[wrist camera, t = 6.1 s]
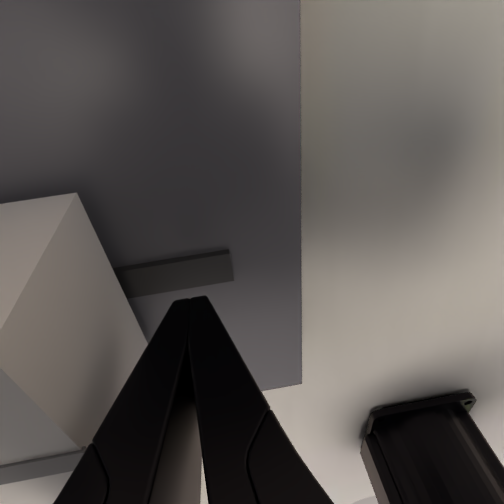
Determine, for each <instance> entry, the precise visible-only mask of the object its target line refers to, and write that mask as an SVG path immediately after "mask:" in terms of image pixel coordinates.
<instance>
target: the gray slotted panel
mask: <svg viewBox="0 0 504 504" xmlns="http://www.w3.org/2000/svg"><path fill="white" fill-rule="evenodd" d="M76 192H77V194H78V196H79V198H80V201H81V203H82V205H83V207H84V209H85V211H86V213H87V216H88V218H89V220H90V222H91V224H92V226H93V228H94V230H95V233H96V235H97V237H98V239H99V241H100V243H101V245H102V247H103V250H104V252H105V254H106V256H107V258H108V260H109V262H110V264H111V267H112V269H113V271H114V273H115V275H116V277H117V279H118V281H119V284H120V286H121V288H122V290H123V292H124V294H125V296H126V298H127V301H128V303H129V305H130V307H131V309H132V311H133V313H134V315H135V318H136V320H137V322H138V324H139V326H140V328H141V330H142V333H143V335H144V337H145V339H146V341H147V343H149V342H150V340H151V338H152V336H153V335H154V333H155V331H156V330H157V328H158V326H159V324H160V323H161V321H162V319H163V318H164V316H165V314H166V312H167V311H168V309H169V307H170V306H171V304H172V302H173V301H175V300H179V299H185V298H190V299H191V298H192V297H197V296H203V295H206V296H207V297H208V298H209V300H210V302H211V303H212V305H213V307H214V309H215V310H216V312H217V314H218V316H219V318H220V319H221V321H222V323H223V325H224V326H225V328H226V330H227V332H228V333H229V335H230V337H231V339H232V341H233V342H234V344H235V346H236V348H237V349H238V351H239V353H240V355H241V356H242V358H243V360H244V362H245V364H246V365H247V367H248V369H249V371H250V372H251V374H252V376H253V378H254V379H255V381H256V383H257V385H258V387H259V388H260V390H261V391H265V390H271V389H276V388H281V387H287V386H292V385H297V384H302V295H301V74H300V0H0V204H3V203H10V202H17V201H23V200H30V199H37V198H43V197H50V196H56V195H63V194H70V193H76Z"/></svg>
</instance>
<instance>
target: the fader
mask: <svg viewBox="0 0 504 504" xmlns="http://www.w3.org/2000/svg"><path fill="white" fill-rule="evenodd" d="M147 345H148V343H147V341H146V339H145V337H144V335H143V333H142V330H141V328H140V326H139V324H138V322H137V320H136V318H135V315H134V313H133V311H132V309H131V307H130V305H129V303H128V301H127V298H126V296H125V294H124V292H123V290H122V288H121V286H120V284H119V281H118V279H117V277H116V275H115V273H114V271H113V269H112V267H111V264H110V262H109V260H108V258H107V256H106V254H105V252H104V250H103V247H102V245H101V243H100V241H99V239H98V237H97V235H96V233H95V230H94V228H93V226H92V224H91V222H90V220H89V218H88V216H87V213H86V211H85V209H84V207H83V205H82V203H81V201H80V198H79V196H78V194H77V192H76V193H70V194H63V195H56V196H50V197H43V198H37V199H30V200H23V201H17V202H10V203H3V204H0V504H53V503H54V501H55V500H56V498H57V497H58V495H59V493H60V492H61V490H62V489H63V487H64V485H65V484H66V482H67V480H68V479H69V477H70V476H71V474H72V472H73V471H74V469H75V467H76V466H77V464H78V462H79V461H80V459H81V457H82V456H83V454H84V452H85V450H86V449H87V447H88V445H89V444H90V443H93V442H92V439H93V437H94V435H95V434H96V432H97V430H98V429H99V427H100V425H101V424H102V422H103V420H104V418H105V417H106V415H107V413H108V412H109V410H110V408H111V406H112V405H113V403H114V401H115V400H116V398H117V396H118V394H119V393H120V391H121V389H122V388H123V386H124V384H125V383H126V381H127V379H128V377H129V376H130V374H131V372H132V371H133V369H134V367H135V365H136V364H137V362H138V360H139V359H140V357H141V355H142V353H143V352H144V350H145V348H146V347H147Z"/></svg>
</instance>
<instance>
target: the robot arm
mask: <svg viewBox="0 0 504 504" xmlns="http://www.w3.org/2000/svg"><path fill="white" fill-rule="evenodd" d="M475 402H476V399H475V397H474V396H473V394H472V393H470V392H467V393H461V394H456V395H451V396H446V397H441V398H435V399H430V400H425V401H420V402H415V403H409V404H404V405H399V406H394V407H389V408H383V409H379V410H376V411H374V412H372V413H371V415H370V419H369V423H368V427H367V431H366V434H365V437H364V440H363V444H362V448H361V452H360V454H361V457H362V459H363V462H364V465H365V468H366V470H367V473H368V476H369V479H370V481H371V484H372V487H373V490H374V492H375V495H376V498H377V500H378V503H379V504H504V467H503V465H502V464H501V462H500V461H499V459H498V457H497V456H496V454H495V453H494V451H493V450H492V448H491V447H490V445H489V444H488V442H487V441H486V439H485V438H484V436H483V434H482V433H481V431H480V430H479V428H478V427H477V425H476V424H475V422H474V421H473V419H472V418H471V416H470V415H469V411H470V410H471V408H472V407H473V405H474V404H475ZM92 442H93V443H90V444H89V445H88V447H87V449H86V450H85V452H84V454H83V456H82V457H81V459H80V461H79V462H78V464H77V466H76V467H75V469H74V471H73V472H72V474H71V476H70V477H69V479H68V480H67V482H66V484H65V485H64V487H63V489H62V490H61V492H60V493H59V495H58V497H57V498H56V500H55V501H54V503H53V504H200V494H201V466H202V459H203V466H204V474H205V481H206V489H207V496H208V504H334V503H333V502H332V500H331V499H330V498H329V496H328V495H327V493H326V492H325V491H324V489H323V488H322V487H321V485H320V484H319V483H318V481H317V480H316V479H315V477H314V476H313V474H312V473H311V472H310V470H309V469H308V467H307V466H306V464H305V463H304V461H303V460H302V459H301V457H300V456H299V454H298V453H297V451H296V450H295V448H294V446H293V445H292V443H291V442H290V440H289V438H288V437H287V435H286V433H285V432H284V430H283V428H282V427H281V425H280V423H279V422H278V420H277V418H276V416H275V414H274V413H273V411H272V410H270V406H269V404H268V402H267V401H266V399H265V397H264V395H263V394H262V392H261V390H260V388H259V387H258V385H257V383H256V381H255V379H254V378H253V376H252V374H251V372H250V371H249V369H248V367H247V365H246V364H245V362H244V360H243V358H242V356H241V355H240V353H239V351H238V349H237V348H236V346H235V344H234V342H233V341H232V339H231V337H230V335H229V333H228V332H227V330H226V328H225V326H224V325H223V323H222V321H221V319H220V318H219V316H218V314H217V312H216V310H215V309H214V307H213V305H212V303H211V302H210V300H209V298H208V297H207V296H206V295H203V296H197V297H192V298H191V299H190V298H185V299H179V300H175V301H173V302H172V304H171V306H170V307H169V309H168V311H167V312H166V314H165V316H164V318H163V319H162V321H161V323H160V324H159V326H158V328H157V330H156V331H155V333H154V335H153V336H152V338H151V340H150V342H149V343H148V345H147V347H146V348H145V350H144V352H143V353H142V355H141V357H140V359H139V360H138V362H137V364H136V365H135V367H134V369H133V371H132V372H131V374H130V376H129V377H128V379H127V381H126V383H125V384H124V386H123V388H122V389H121V391H120V393H119V394H118V396H117V398H116V400H115V401H114V403H113V405H112V406H111V408H110V410H109V412H108V413H107V415H106V417H105V418H104V420H103V422H102V424H101V425H100V427H99V429H98V430H97V432H96V434H95V435H94V437H93V439H92Z"/></svg>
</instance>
